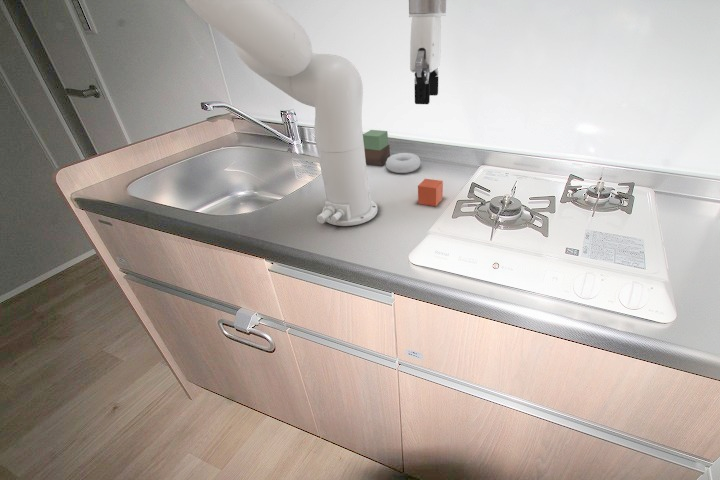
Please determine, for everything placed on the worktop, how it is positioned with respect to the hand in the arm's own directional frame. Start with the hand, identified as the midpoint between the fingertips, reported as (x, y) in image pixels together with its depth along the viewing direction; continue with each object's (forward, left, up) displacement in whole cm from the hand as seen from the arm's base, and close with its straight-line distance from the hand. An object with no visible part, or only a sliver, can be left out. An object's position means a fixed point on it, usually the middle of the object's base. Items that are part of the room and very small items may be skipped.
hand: (426, 99), depth 83 cm
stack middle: (+10, +20, -16) cm, 28 cm away
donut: (+8, +10, -21) cm, 24 cm away
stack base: (+10, +20, -20) cm, 31 cm away
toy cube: (-10, -5, -20) cm, 23 cm away
